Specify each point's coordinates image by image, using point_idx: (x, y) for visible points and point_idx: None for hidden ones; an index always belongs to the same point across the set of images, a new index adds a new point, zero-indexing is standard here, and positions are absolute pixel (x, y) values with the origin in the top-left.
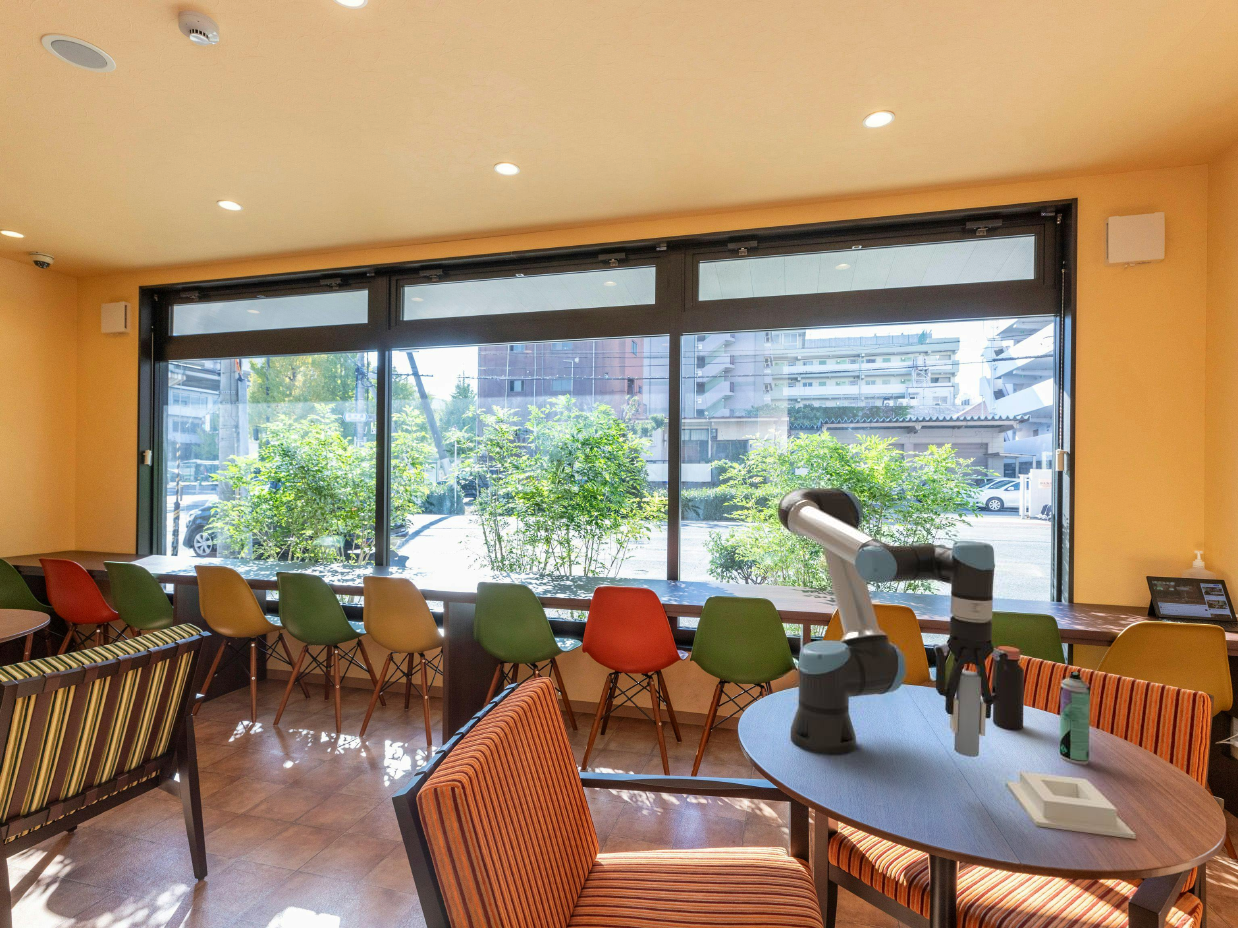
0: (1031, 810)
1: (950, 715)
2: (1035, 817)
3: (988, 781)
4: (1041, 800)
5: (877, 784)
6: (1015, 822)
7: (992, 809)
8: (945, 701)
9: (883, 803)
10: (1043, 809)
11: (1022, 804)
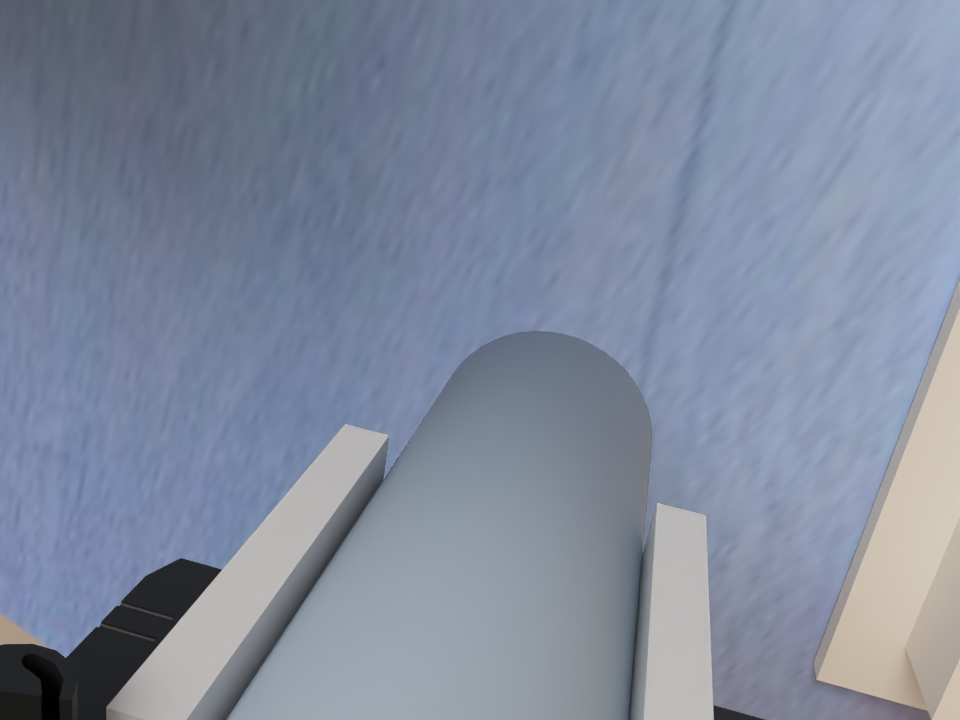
0: (887, 570)
1: (283, 507)
2: (849, 640)
3: (889, 108)
4: (938, 677)
5: (69, 216)
6: (711, 626)
7: (657, 497)
8: (69, 656)
9: (68, 431)
10: (917, 674)
11: (884, 494)
